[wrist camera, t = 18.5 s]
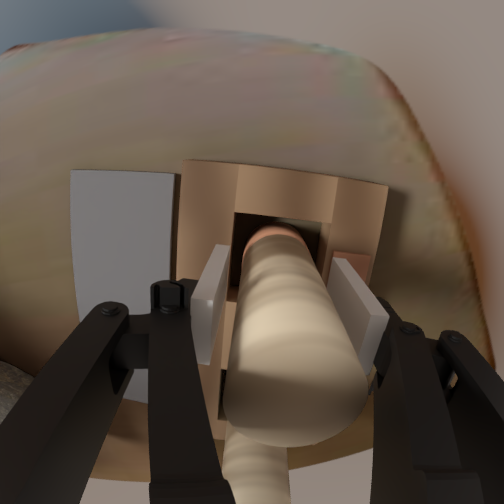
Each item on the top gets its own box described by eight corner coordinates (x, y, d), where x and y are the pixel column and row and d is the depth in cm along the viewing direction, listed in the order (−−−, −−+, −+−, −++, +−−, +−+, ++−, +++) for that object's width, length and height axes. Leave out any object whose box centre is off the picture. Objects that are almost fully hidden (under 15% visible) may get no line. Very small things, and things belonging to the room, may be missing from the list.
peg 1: (232, 359, 24) (214, 523, 10) (284, 362, 24) (301, 525, 10) (229, 395, 25) (214, 544, 12) (277, 398, 25) (286, 546, 12)
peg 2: (247, 218, 20) (225, 335, 7) (309, 225, 21) (390, 347, 7) (241, 276, 22) (217, 442, 8) (300, 283, 22) (345, 447, 8)
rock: (49, 384, 20) (81, 473, 21) (85, 359, 27) (106, 439, 27) (-50, 360, 20) (-24, 435, 21) (-16, 346, 27) (5, 414, 27)
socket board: (184, 414, 26) (179, 435, 23) (191, 159, 19) (181, 159, 17) (312, 425, 26) (316, 446, 23) (374, 182, 20) (389, 186, 17)
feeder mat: (95, 387, 25) (93, 390, 25) (73, 169, 20) (70, 170, 19) (173, 405, 26) (172, 408, 25) (175, 173, 20) (174, 173, 19)
